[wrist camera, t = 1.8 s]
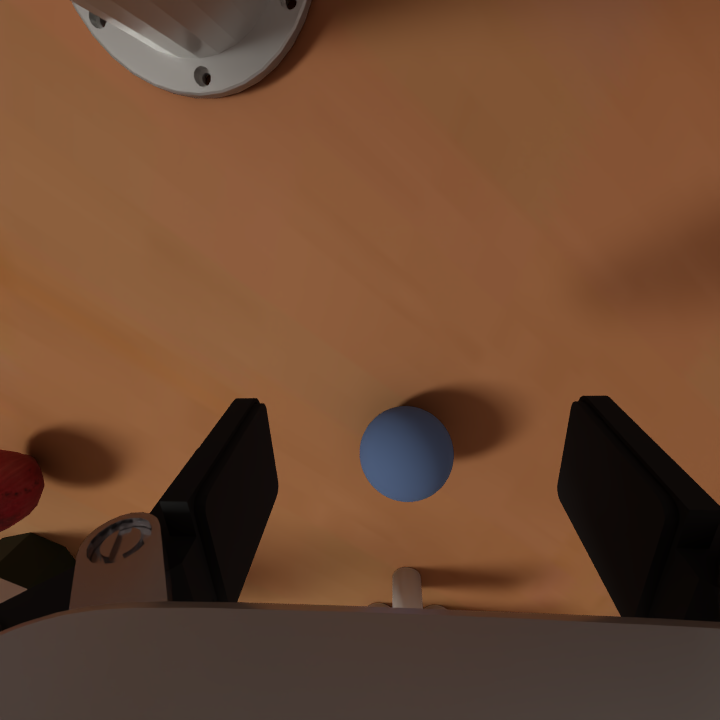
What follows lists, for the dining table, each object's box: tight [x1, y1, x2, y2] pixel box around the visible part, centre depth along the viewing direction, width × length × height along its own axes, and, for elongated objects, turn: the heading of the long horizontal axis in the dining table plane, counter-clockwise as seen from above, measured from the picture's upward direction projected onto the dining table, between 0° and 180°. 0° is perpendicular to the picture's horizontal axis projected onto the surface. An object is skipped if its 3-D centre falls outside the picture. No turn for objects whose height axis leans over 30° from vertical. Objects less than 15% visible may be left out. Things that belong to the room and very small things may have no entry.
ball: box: [360, 406, 454, 502], centre depth 26 cm, size 6×6×6 cm
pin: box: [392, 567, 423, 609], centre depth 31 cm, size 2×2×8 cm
